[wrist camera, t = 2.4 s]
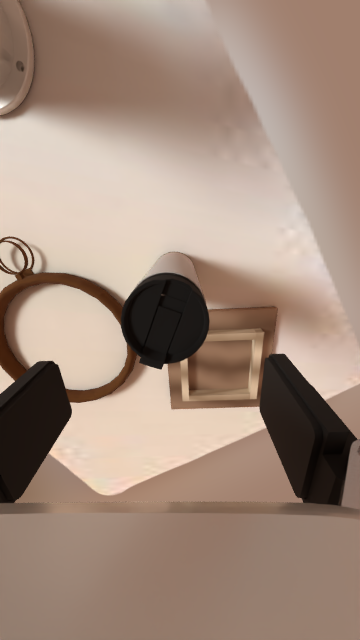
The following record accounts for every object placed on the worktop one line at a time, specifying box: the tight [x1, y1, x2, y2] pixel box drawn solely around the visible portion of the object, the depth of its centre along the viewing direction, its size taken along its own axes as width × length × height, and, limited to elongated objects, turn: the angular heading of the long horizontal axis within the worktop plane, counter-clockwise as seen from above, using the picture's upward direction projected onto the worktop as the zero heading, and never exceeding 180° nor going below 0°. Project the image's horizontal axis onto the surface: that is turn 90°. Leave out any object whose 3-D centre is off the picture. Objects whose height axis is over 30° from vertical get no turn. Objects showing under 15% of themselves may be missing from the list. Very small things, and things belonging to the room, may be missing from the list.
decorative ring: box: [0, 237, 137, 403], centre depth 35 cm, size 24×3×30 cm
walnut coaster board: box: [168, 307, 278, 409], centre depth 38 cm, size 20×18×2 cm
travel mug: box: [121, 252, 210, 369], centre depth 24 cm, size 6×7×20 cm
